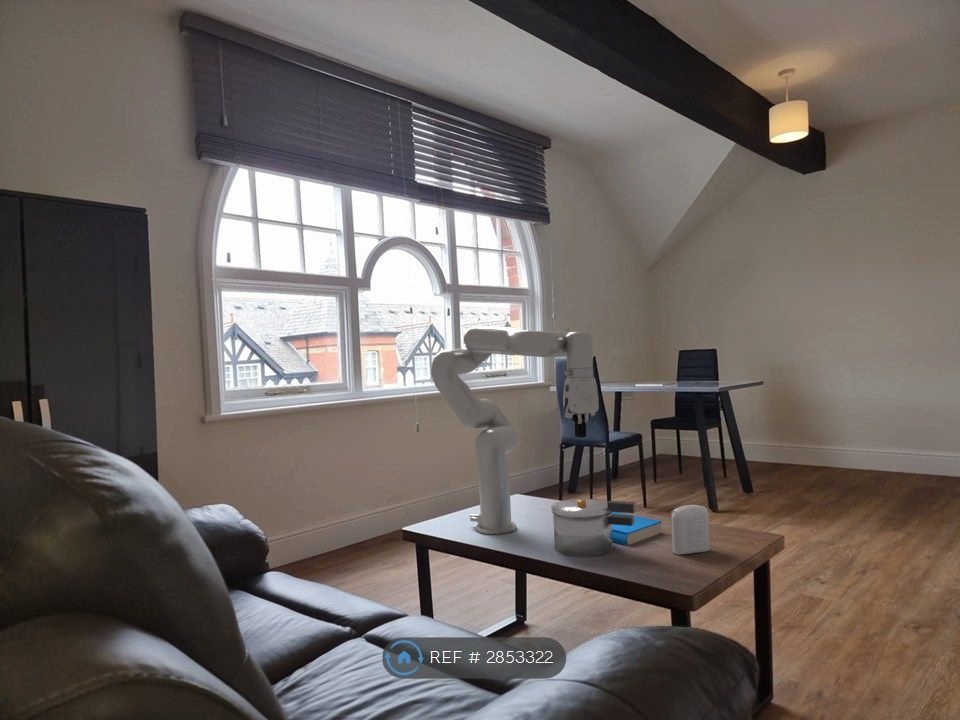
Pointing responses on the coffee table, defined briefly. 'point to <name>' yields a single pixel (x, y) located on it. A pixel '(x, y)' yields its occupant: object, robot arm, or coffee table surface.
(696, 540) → the white arched block
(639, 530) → the book
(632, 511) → the lid
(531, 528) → the coffee table surface
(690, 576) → the coffee table surface
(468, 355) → the robot arm
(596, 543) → the cooker pot
